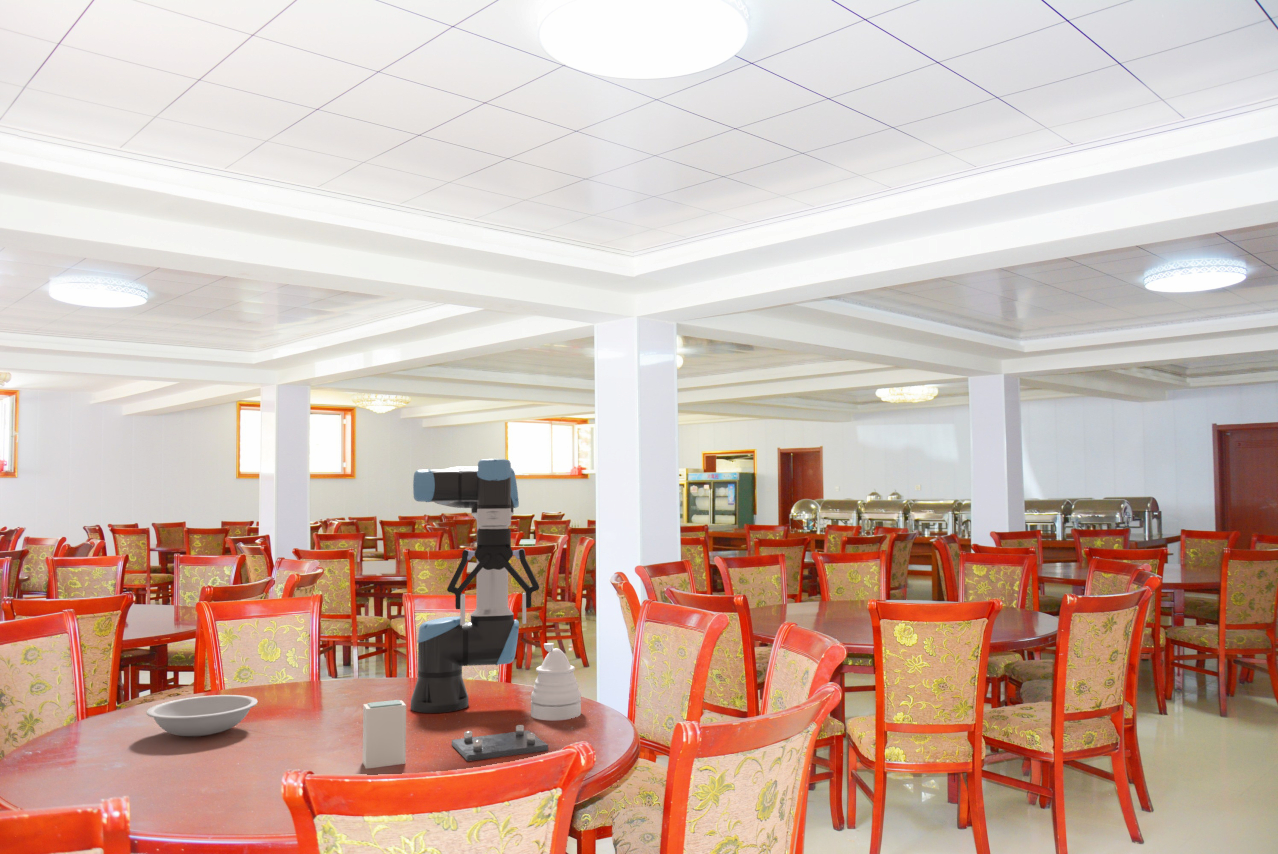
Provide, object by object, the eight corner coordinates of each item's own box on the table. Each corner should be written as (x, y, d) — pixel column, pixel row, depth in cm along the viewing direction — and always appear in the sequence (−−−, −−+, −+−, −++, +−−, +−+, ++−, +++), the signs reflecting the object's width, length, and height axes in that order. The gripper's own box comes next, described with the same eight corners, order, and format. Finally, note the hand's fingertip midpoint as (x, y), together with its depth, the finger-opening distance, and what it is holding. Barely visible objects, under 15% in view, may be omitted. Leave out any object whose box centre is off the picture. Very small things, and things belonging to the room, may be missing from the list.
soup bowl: (278, 726, 218) (279, 699, 219) (193, 752, 196) (194, 721, 197) (210, 717, 228) (210, 691, 229) (121, 740, 207) (122, 711, 207)
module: (362, 762, 187) (363, 702, 188) (401, 757, 191) (401, 698, 192) (365, 768, 183) (366, 707, 184) (405, 763, 186) (406, 703, 187)
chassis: (451, 745, 200) (451, 730, 200) (528, 735, 207) (528, 721, 208) (467, 761, 187) (467, 745, 187) (548, 750, 195) (548, 735, 195)
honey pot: (541, 722, 220) (541, 648, 221) (523, 712, 231) (523, 641, 232) (589, 716, 226) (588, 644, 227) (569, 706, 237) (569, 638, 238)
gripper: (435, 528, 194) (434, 627, 193) (549, 527, 197) (549, 624, 195) (439, 527, 202) (438, 622, 200) (549, 526, 204) (549, 620, 203)
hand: (493, 623), depth 198 cm, fingers open, 13 cm apart
